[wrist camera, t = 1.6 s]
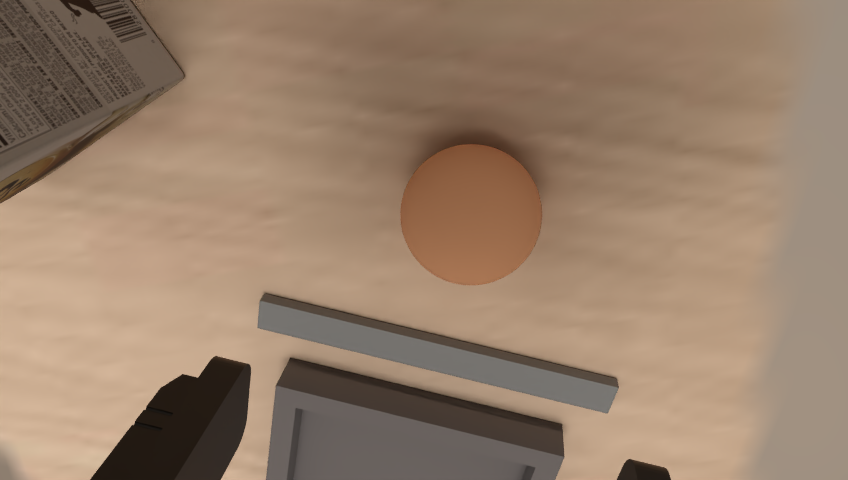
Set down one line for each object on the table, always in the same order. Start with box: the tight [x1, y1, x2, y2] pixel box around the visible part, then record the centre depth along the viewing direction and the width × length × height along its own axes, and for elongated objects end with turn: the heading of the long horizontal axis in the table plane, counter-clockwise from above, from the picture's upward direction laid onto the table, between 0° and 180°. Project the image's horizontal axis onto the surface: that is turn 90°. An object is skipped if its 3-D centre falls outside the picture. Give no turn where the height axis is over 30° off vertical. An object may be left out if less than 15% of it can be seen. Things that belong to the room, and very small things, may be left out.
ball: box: [401, 144, 542, 285], centre depth 23 cm, size 5×5×5 cm
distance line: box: [258, 294, 619, 414], centre depth 29 cm, size 2×16×1 cm, turn 79°
